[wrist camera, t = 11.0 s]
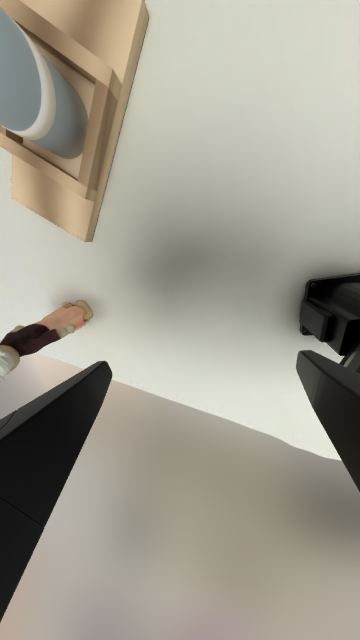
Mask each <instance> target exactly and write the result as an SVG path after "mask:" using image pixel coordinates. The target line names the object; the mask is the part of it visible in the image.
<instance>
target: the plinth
mask: <svg viewBox="0 0 360 640" xmlns="http://www.w3.org/2000/svg"><path fill="white" fill-rule="evenodd" d="M0 7H1V8H2V9H3V10H4V11H5V12H6V13H7V14H8V15H9V16H10V17H11V18H12V19H13V20H14V21H15V22H16V23H17V24H18V25H19V27H20V28H21V29H22V30H23V31H24V32H25V33H26V34H27V35H28V37H29V38H30V39H31V40H32V41H33V42H34V44H35V45H36V46H37V48H38V49H39V50H40V51H41V52H42V53H43V55H44V56H45V57H46V58H47V59H48V60H49V61H50V62H51V63H52V65H53V66H54V67H55V68H56V69H57V70H58V71H59V72H60V73H61V74H62V76H63V77H64V78H65V79H66V80H67V81H68V82H69V83H70V84H71V86H72V87H73V88H74V89H75V90H76V91H77V93H78V94H79V96H80V98H81V99H82V101H83V104H84V106H85V109H86V112H87V116H88V121H89V122H88V127H87V132H86V138H85V143H84V149H83V152H82V154H81V155H79V156H78V157H76V158H73V159H65V158H62V157H60V156H58V155H56V154H54V153H52V152H51V151H49V150H47V149H45V148H43V147H41V146H39V145H37V144H36V143H34V142H32V141H30V140H28V139H25V138H23V137H21V136H19V135H17V134H15V133H13V132H11V131H9V130H7V129H6V128H4V127H2V126H1V125H0V146H1V147H2V148H4V149H6V150H7V151H9V152H10V153H12V192H11V198H12V199H13V200H15V201H17V202H18V203H20V204H22V205H23V206H25V207H27V208H28V209H30V210H32V211H34V212H35V213H37V214H39V215H40V216H42V217H44V218H45V219H47V220H49V221H50V222H52V223H54V224H55V225H57V226H59V227H61V228H62V229H64V230H66V231H67V232H69V233H71V234H72V235H74V236H76V237H77V238H79V239H81V240H82V241H84V242H91V241H92V239H93V235H94V231H95V227H96V223H97V219H98V215H99V211H100V207H101V203H102V200H103V196H104V192H105V188H106V184H107V180H108V176H109V172H110V168H111V164H112V160H113V157H114V153H115V149H116V145H117V141H118V137H119V133H120V129H121V125H122V121H123V117H124V114H125V110H126V106H127V102H128V98H129V94H130V90H131V86H132V82H133V78H134V75H135V71H136V67H137V63H138V59H139V55H140V51H141V47H142V43H143V39H144V35H145V32H146V28H147V24H148V20H149V15H148V11H147V8H146V4H145V0H0Z"/></svg>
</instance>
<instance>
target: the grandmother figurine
mask: <svg viewBox="0 0 360 640" xmlns="http://www.w3.org/2000/svg"><path fill="white" fill-rule="evenodd" d="M92 316H93V314H92V311H91V310H90V308H89V307H88V305H87V304H86V303H85V302H84V301H77V302H76V306H73V305H72V304H70V303H64V304H63V307H61V308H59V309H57V310H55V311H54V312H52V313H51V314H49V315H47V316H46V317H44V318H43V319H42V320H41V321H39V322H37V323H35V324H31V325H28V326H26V327H24V326H16V327H15V328H14V330H12V331H11V332H10V333H8V334H7V335H6V336H5V337H4V339H3V340H2V342H1V343H0V382H1V381H2V380H4V378H5V376H6V375H8V374H9V373H10V372H11V371H12V370H14V369H15V368H16V367H17V365H18V364H19V361H20V357H21V356H24V355H28V354H33V353H35V352H37V351H39V350H40V349H41V348H43V347H44V346H46V345H48V344H50V343H52V342H55V341H58V340H60V339H61V338H62V337H64V336H66V335H67V334H70V333H73V332H74V331H75V330H77V329H79V328H81V327H83V326H84V325H85V324H86V323H85V322H84V321H83V320H85V319H90V318H91V317H92Z"/></svg>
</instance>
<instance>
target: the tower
mask: <svg viewBox="0 0 360 640" xmlns="http://www.w3.org/2000/svg"><path fill="white" fill-rule="evenodd" d="M88 122H89V121H88V116H87V112H86V109H85V106H84V104H83V101H82V99H81V98H80V96H79V94H78V93H77V91H76V90H75V89H74V88H73V87H72V86H71V84H70V83H69V82H68V81H67V80H66V79H65V78H64V77H63V76H62V74H61V73H60V72H59V71H58V70H57V69H56V68H55V67H54V66H53V65H52V63H51V62H50V61H49V60H48V59H47V58H46V57H45V56H44V55H43V53H42V52H41V51H40V50H39V49H38V48H37V46H36V45H35V44H34V42H33V41H32V40H31V39H30V38H29V37H28V35H27V34H26V33H25V32H24V31H23V30H22V29H21V28H20V27H19V25H18V24H17V23H16V22H15V21H14V20H13V19H12V18H11V17H10V16H9V15H8V14H7V13H6V12H5V11H4V10H3V9H2V8H1V7H0V125H1V126H2V127H4V128H6V129H7V130H9V131H11V132H13V133H15V134H17V135H19V136H21V137H23V138H25V139H28V140H30V141H32V142H34V143H36V144H37V145H39V146H41V147H43V148H45V149H47V150H49V151H51V152H52V153H54V154H56V155H58V156H60V157H62V158H65V159H73V158H76V157H78V156H79V155H81V154H82V152H83V149H84V143H85V138H86V132H87V127H88Z"/></svg>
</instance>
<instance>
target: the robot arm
mask: <svg viewBox="0 0 360 640" xmlns="http://www.w3.org/2000/svg"><path fill="white" fill-rule="evenodd" d="M313 283H315V285H314V286H312V287H311V285H312V284H313ZM300 323H301V327H300V332H301V333H302V335H314V336H315V337H316V338H317V339H318V340H319V341H321V342H326V343H327V344H328V345H329V346H330V347H331V348H332V349H333V350H334V351H335V352H337V353H338V354H339V355H340V356H344V358H343V359H342V361H341V362H340V363H339V364H338V363H336V362H334V361H332V360H330V359H328V358H326V357H324V356H322V355H320V354H318V353H316V352H314V351H311V350H303V351H299V352H298V357H297V364H296V370H297V373H298V375H299V377H300V380H301V382H302V384H303V387H304V389H305V391H306V394H307V396H308V398H309V401H310V403H311V405H312V407H313V409H314V411H315V413H316V415H317V417H318V418H319V420H320V422H321V424H322V426H323V427H324V429H325V431H326V433H327V435H328V436H329V438H330V440H331V442H332V443H333V445H334V447H335V449H336V451H337V452H338V454H339V456H340V458H341V459H342V461H343V463H344V465H345V467H346V468H347V470H348V472H349V474H350V475H351V477H352V479H353V481H354V483H355V484H356V486H357V488H358V490H359V492H360V273H359V274H352V275H344V276H336V277H328V278H321V279H313V280H310V281H309V282H308V283H307V285H306V292H305V299H304V301H303V302H302V307H301V315H300ZM305 330H307V331H306V332H304V331H305ZM111 379H112V371H111V369H110V367H109V365H108V363H107V362H106V361H98V362H96V363H94V364H93V365H91V366H89V367H88V368H86V369H84V370H83V371H81V372H80V373H78V374H76V375H75V376H73V377H71V378H69V379H68V380H66V381H65V382H63V383H61V384H59V385H58V386H56V387H54V388H53V389H51V390H49V391H48V392H46V393H44V394H43V395H41V396H39V397H37V398H36V399H34V400H33V401H31V402H29V403H27V404H26V405H24V406H22V407H21V408H19V409H18V410H16V411H14V412H12V413H11V414H9V415H7V416H6V417H4V418H2V419H1V420H0V622H1V620H2V618H3V616H4V613H5V611H6V609H7V607H8V605H9V603H10V600H11V598H12V596H13V594H14V592H15V590H16V588H17V586H18V583H19V581H20V579H21V577H22V575H23V573H24V570H25V569H26V566H27V564H28V562H29V560H30V558H31V556H32V554H33V551H34V549H35V547H36V545H37V543H38V541H39V539H40V537H41V534H42V532H43V530H44V527H45V525H46V523H47V521H48V519H49V517H50V515H51V513H52V510H53V508H54V506H55V504H56V502H57V500H58V498H59V496H60V493H61V491H62V489H63V487H64V485H65V483H66V480H67V479H68V476H69V474H70V472H71V470H72V468H73V466H74V464H75V462H76V459H77V457H78V455H79V453H80V451H81V449H82V447H83V444H84V442H85V440H86V438H87V436H88V434H89V432H90V429H91V427H92V425H93V423H94V421H95V419H96V417H97V415H98V413H99V410H100V408H101V406H102V403H103V400H104V398H105V395H106V393H107V390H108V387H109V384H110V382H111Z"/></svg>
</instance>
